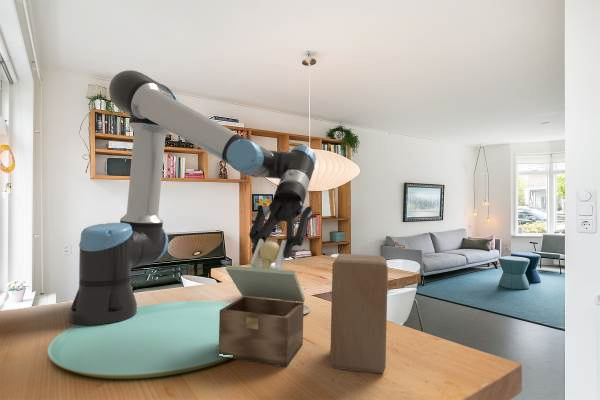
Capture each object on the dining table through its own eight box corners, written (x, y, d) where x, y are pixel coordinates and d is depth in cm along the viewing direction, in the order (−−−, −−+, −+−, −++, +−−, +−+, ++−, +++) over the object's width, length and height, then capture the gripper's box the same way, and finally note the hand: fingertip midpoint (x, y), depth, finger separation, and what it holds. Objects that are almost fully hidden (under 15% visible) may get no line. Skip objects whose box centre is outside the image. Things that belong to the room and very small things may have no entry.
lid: (225, 268, 72) (238, 234, 78) (242, 295, 80) (253, 262, 86) (293, 274, 68) (302, 237, 74) (304, 302, 76) (311, 267, 82)
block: (385, 376, 64) (388, 263, 64) (329, 369, 66) (332, 260, 66) (383, 353, 73) (386, 255, 73) (335, 348, 75) (337, 252, 75)
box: (217, 356, 70) (219, 310, 70) (242, 336, 80) (243, 296, 80) (286, 367, 66) (287, 318, 66) (302, 344, 77) (303, 302, 77)
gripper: (255, 180, 90) (221, 254, 74) (324, 180, 85) (303, 259, 69) (262, 201, 95) (232, 275, 79) (328, 203, 90) (309, 282, 74)
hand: (265, 267), depth 74 cm, fingers closed on lid, 5 cm apart
